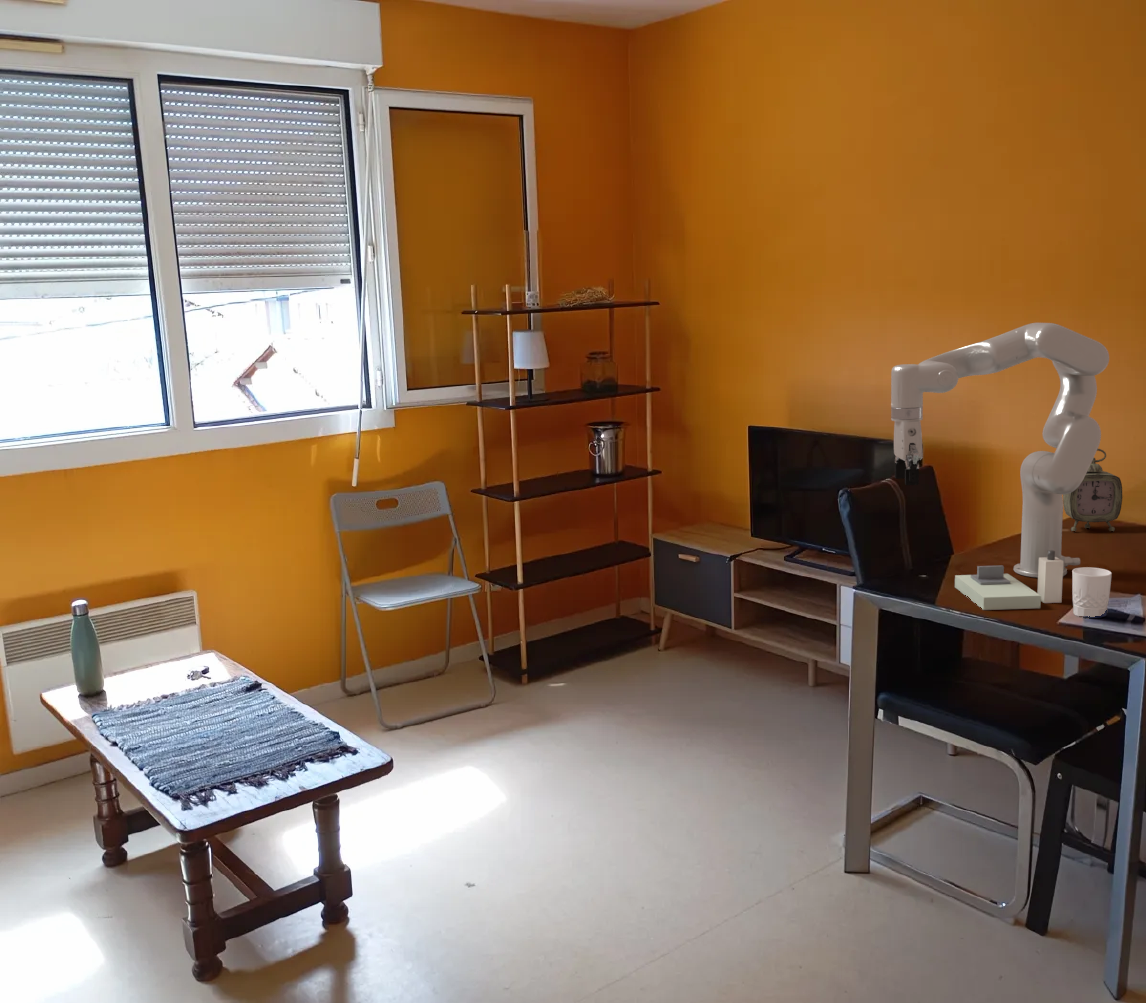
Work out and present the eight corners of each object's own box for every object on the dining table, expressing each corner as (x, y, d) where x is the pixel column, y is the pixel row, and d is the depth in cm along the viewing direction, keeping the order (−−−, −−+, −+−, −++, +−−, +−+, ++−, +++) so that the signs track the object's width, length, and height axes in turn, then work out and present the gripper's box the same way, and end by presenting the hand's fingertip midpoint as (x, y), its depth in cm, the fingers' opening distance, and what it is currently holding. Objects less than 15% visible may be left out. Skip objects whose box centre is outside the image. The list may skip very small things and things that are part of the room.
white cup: (1063, 610, 238) (1065, 568, 236) (1096, 608, 238) (1098, 566, 236) (1082, 621, 230) (1084, 577, 228) (1116, 618, 230) (1119, 574, 229)
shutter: (999, 576, 257) (999, 562, 256) (1010, 583, 250) (1010, 569, 249) (970, 577, 257) (971, 563, 256) (980, 584, 250) (981, 570, 250)
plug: (1054, 597, 248) (1056, 548, 246) (1061, 602, 244) (1063, 552, 242) (1037, 598, 248) (1039, 549, 246) (1044, 603, 244) (1046, 553, 242)
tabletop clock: (1068, 533, 311) (1072, 450, 306) (1059, 527, 320) (1063, 446, 315) (1120, 533, 308) (1125, 449, 304) (1110, 526, 317) (1114, 445, 312)
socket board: (1007, 585, 260) (1007, 573, 259) (1040, 608, 240) (1040, 595, 240) (954, 587, 260) (955, 575, 260) (983, 610, 241) (983, 597, 240)
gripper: (932, 417, 251) (931, 486, 254) (912, 409, 268) (912, 475, 271) (900, 418, 252) (900, 488, 255) (883, 411, 269) (883, 476, 272)
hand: (906, 481), depth 263 cm, fingers open, 9 cm apart
